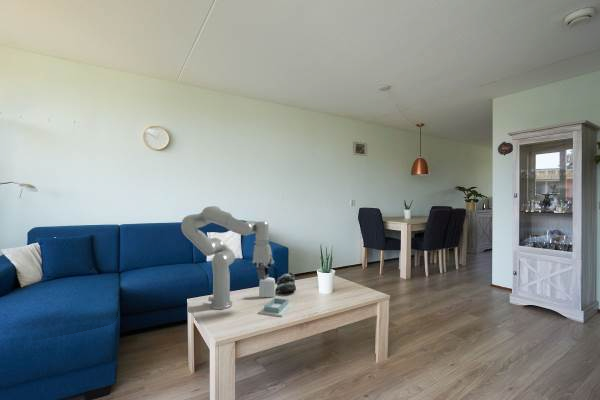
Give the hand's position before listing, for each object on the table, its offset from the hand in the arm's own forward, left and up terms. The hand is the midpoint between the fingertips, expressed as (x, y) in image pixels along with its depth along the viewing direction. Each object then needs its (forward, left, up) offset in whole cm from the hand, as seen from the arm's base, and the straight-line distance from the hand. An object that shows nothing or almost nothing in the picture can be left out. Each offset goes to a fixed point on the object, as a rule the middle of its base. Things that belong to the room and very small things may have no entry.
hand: (263, 273), depth 167 cm
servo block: (0, 0, -2) cm, 2 cm away
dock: (+8, +1, -20) cm, 22 cm away
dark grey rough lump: (+1, +31, -20) cm, 37 cm away
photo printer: (-6, +18, -20) cm, 28 cm away
